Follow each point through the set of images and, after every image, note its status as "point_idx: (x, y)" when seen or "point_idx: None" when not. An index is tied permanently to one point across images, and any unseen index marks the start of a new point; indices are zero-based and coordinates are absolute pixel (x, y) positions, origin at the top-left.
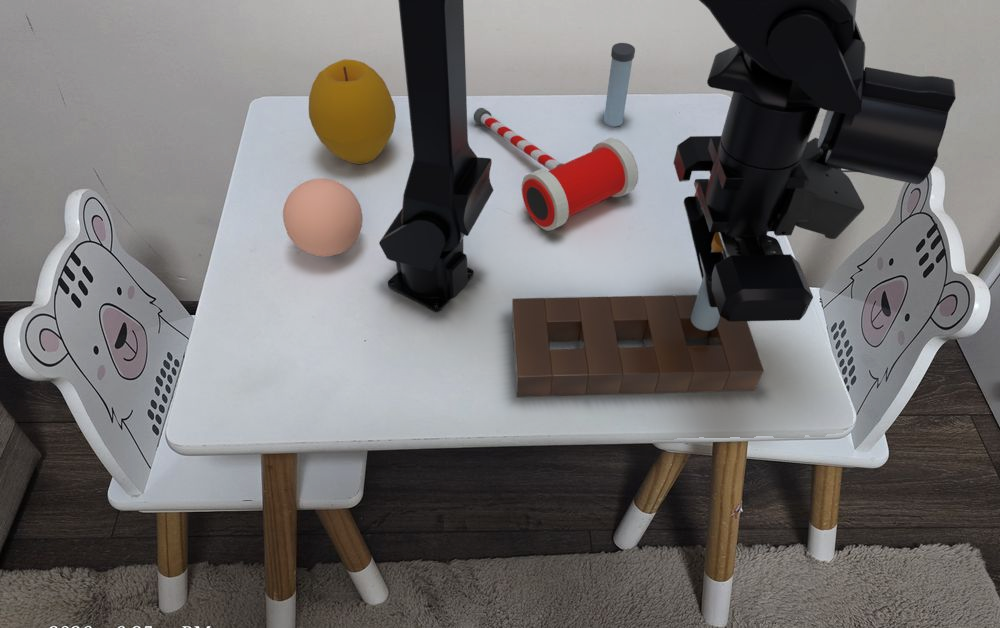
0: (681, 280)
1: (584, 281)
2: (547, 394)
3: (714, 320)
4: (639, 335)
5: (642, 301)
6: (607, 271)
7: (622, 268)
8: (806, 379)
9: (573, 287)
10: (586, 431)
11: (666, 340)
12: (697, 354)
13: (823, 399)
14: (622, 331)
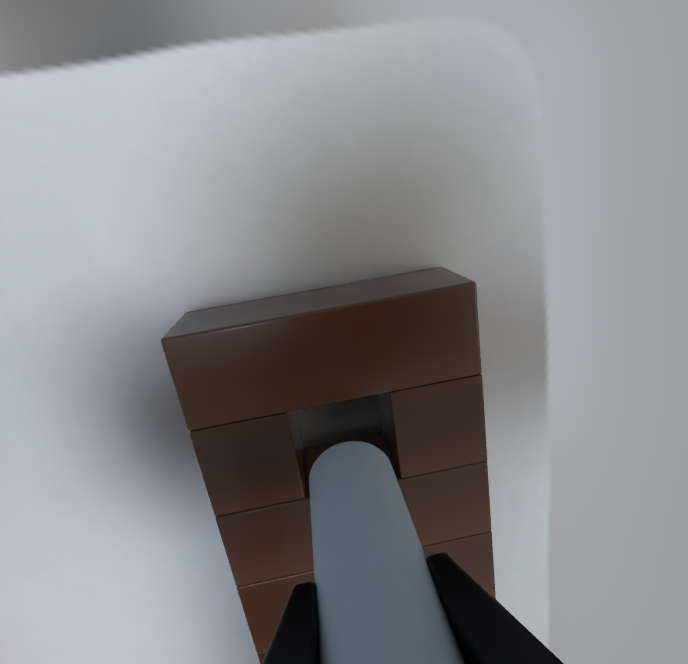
0: (84, 437)
1: (159, 633)
2: None
3: (398, 487)
4: None
5: (258, 585)
6: (109, 596)
7: (86, 569)
8: (394, 115)
9: (185, 648)
10: (546, 576)
11: None
12: (430, 455)
13: (460, 75)
14: None
